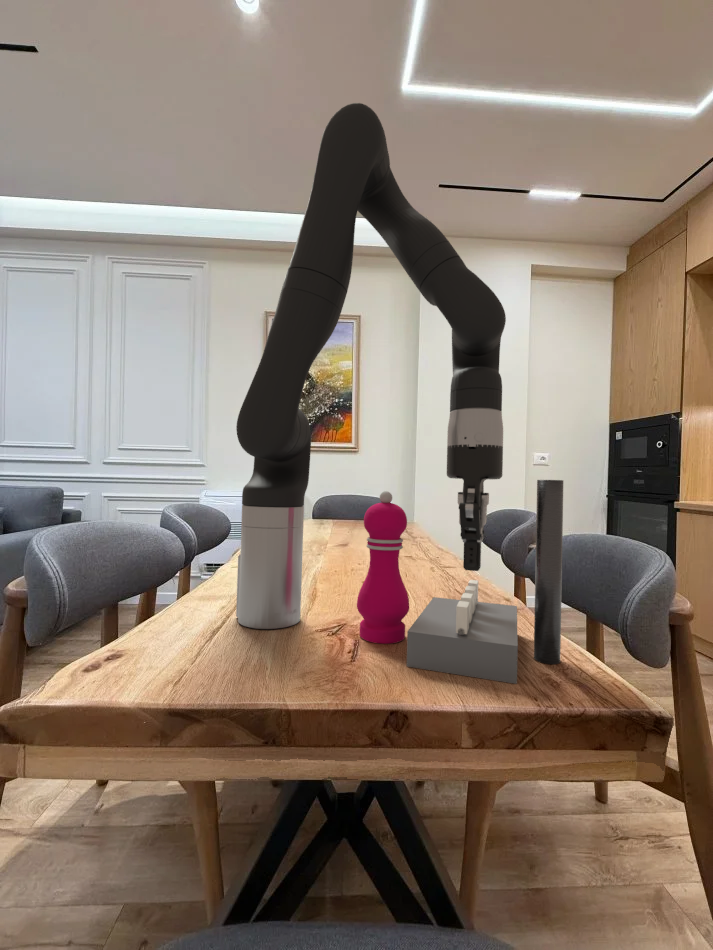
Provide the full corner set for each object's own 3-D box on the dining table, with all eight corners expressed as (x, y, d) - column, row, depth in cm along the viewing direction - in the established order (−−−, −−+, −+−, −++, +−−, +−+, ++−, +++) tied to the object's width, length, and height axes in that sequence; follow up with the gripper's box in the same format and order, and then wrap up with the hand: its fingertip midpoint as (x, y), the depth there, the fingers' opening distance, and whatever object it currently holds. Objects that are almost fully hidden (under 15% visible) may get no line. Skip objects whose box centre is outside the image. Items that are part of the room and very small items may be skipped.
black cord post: (529, 658, 56) (532, 479, 57) (540, 653, 58) (543, 480, 59) (554, 666, 54) (557, 479, 55) (564, 660, 56) (567, 480, 57)
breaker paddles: (455, 634, 52) (456, 606, 52) (469, 601, 67) (469, 579, 67) (466, 636, 51) (467, 607, 52) (477, 602, 67) (478, 580, 67)
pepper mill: (405, 647, 59) (410, 492, 59) (351, 642, 60) (355, 490, 61) (410, 630, 66) (414, 491, 66) (361, 626, 67) (365, 490, 68)
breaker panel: (406, 666, 53) (407, 631, 53) (432, 623, 70) (433, 597, 70) (516, 683, 49) (517, 646, 49) (516, 633, 66) (516, 606, 66)
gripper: (453, 448, 71) (450, 560, 71) (440, 439, 59) (437, 575, 58) (504, 448, 69) (501, 564, 68) (501, 439, 56) (498, 581, 56)
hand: (471, 569), depth 63 cm, fingers closed
